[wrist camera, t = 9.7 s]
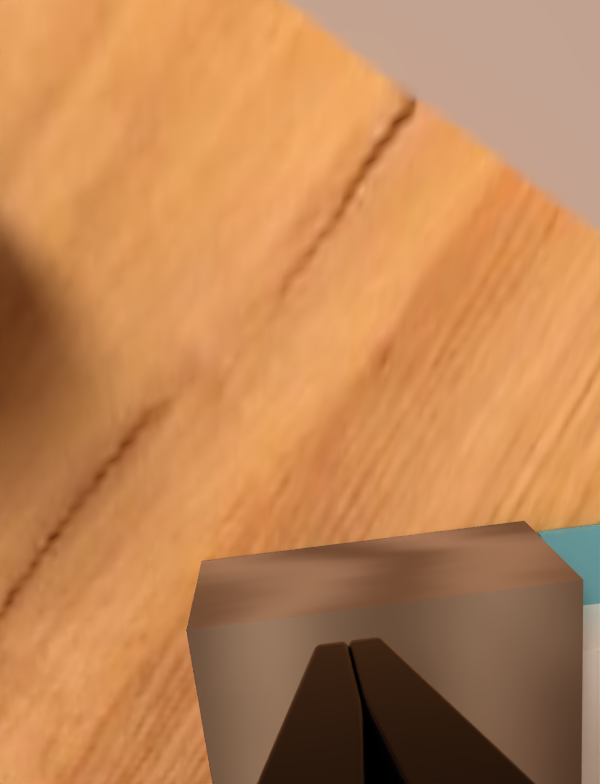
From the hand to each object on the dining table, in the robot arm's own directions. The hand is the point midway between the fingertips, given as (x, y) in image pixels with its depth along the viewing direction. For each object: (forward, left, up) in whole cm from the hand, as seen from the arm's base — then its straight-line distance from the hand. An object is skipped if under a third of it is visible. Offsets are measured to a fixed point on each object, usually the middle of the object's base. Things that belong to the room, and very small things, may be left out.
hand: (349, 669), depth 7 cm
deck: (+2, -11, -12) cm, 17 cm away
